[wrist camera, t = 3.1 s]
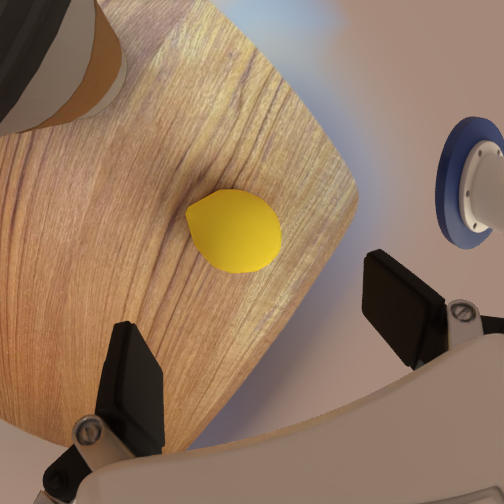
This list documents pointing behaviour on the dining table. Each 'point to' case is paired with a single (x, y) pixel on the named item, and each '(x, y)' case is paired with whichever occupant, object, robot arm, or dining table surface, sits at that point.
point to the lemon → (235, 230)
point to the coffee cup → (56, 63)
